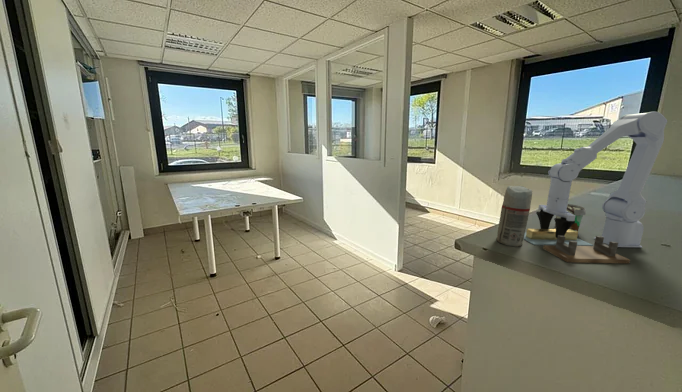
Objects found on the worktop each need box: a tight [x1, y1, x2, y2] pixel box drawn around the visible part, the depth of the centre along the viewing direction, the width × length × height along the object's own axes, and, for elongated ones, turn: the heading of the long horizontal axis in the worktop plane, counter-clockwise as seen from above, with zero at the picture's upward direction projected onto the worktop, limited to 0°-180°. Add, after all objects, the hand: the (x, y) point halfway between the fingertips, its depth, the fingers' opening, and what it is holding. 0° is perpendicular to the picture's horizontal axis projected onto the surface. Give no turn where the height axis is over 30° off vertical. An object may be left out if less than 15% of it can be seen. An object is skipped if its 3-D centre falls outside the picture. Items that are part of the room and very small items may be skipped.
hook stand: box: [542, 235, 631, 264], centre depth 83 cm, size 18×10×6 cm, turn 89°
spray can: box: [495, 185, 533, 247], centre depth 92 cm, size 8×8×20 cm
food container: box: [554, 203, 587, 233], centre depth 106 cm, size 12×6×10 cm, turn 168°
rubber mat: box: [523, 231, 594, 246], centre depth 98 cm, size 20×12×1 cm, turn 89°
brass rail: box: [526, 228, 579, 240], centre depth 97 cm, size 16×3×3 cm, turn 89°
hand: (551, 234), depth 97 cm, fingers open, 7 cm apart
